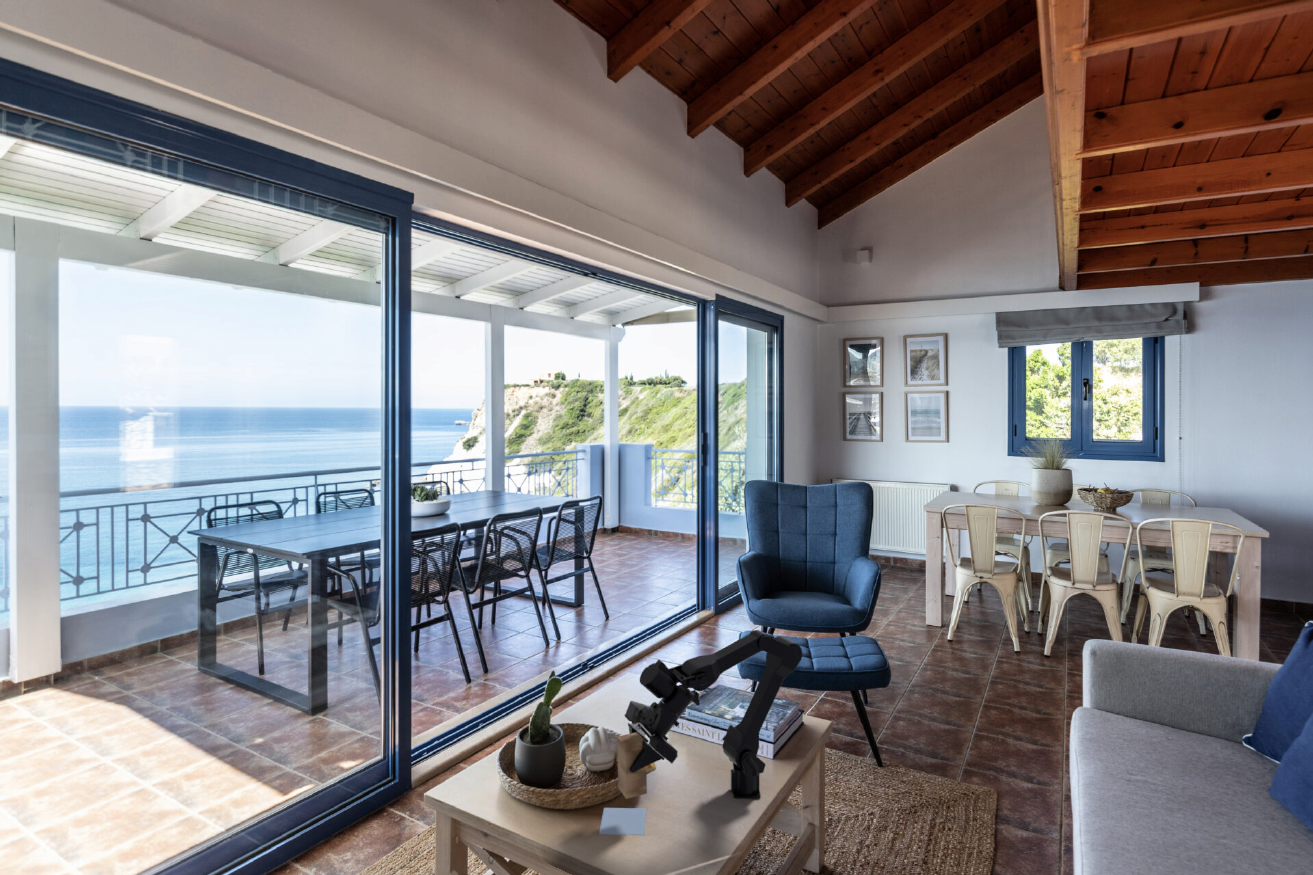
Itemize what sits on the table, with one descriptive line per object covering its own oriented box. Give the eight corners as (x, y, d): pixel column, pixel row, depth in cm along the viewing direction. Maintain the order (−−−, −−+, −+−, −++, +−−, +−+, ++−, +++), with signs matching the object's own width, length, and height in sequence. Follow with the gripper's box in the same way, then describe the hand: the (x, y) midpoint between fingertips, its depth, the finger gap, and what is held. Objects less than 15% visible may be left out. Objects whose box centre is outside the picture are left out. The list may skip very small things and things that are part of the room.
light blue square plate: (646, 810, 162) (646, 808, 162) (644, 836, 152) (644, 834, 152) (604, 809, 163) (604, 807, 163) (599, 836, 153) (599, 833, 153)
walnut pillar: (638, 782, 161) (637, 732, 161) (646, 793, 157) (646, 741, 156) (618, 787, 159) (617, 736, 159) (626, 798, 155) (625, 746, 154)
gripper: (631, 674, 167) (588, 728, 163) (664, 705, 150) (617, 766, 146) (661, 700, 171) (620, 754, 167) (696, 733, 154) (651, 793, 150)
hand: (626, 765), depth 157 cm, fingers closed on walnut pillar, 5 cm apart
